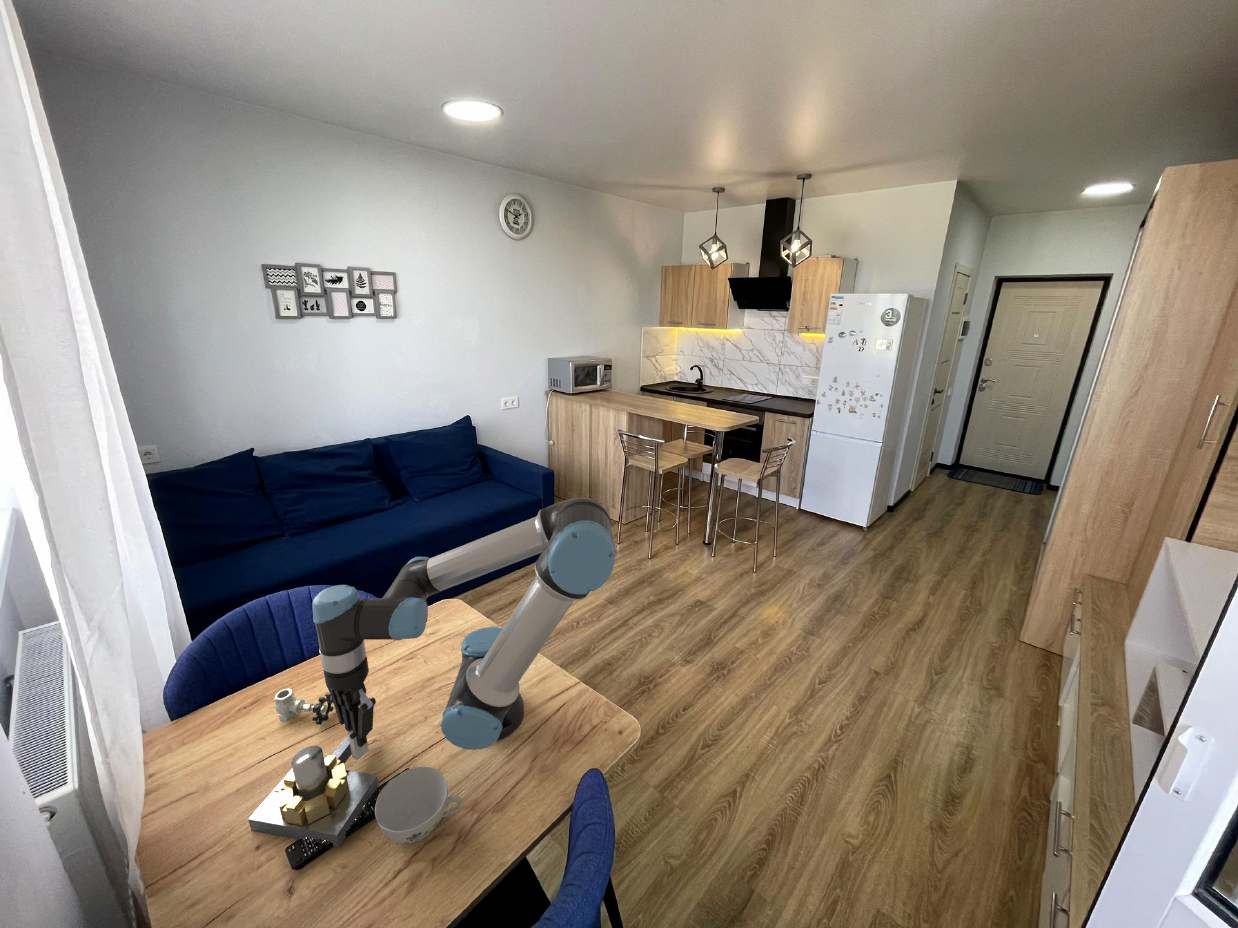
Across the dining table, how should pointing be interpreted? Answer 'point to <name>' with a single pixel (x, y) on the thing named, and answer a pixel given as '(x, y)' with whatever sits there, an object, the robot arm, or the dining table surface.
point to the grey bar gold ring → (318, 807)
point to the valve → (301, 706)
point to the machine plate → (322, 824)
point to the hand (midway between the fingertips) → (360, 753)
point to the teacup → (413, 804)
